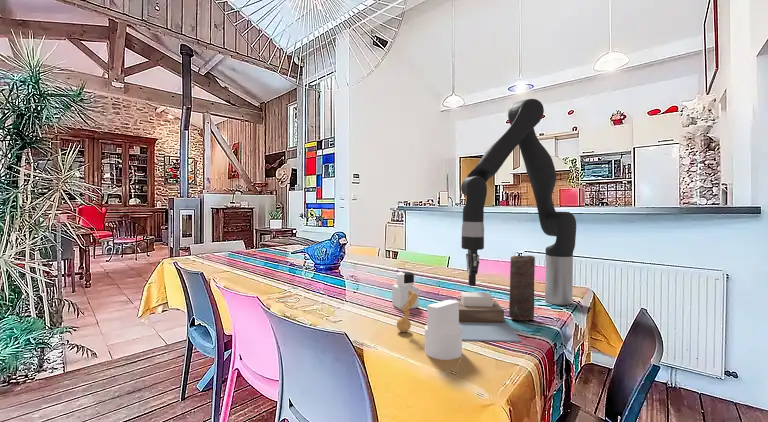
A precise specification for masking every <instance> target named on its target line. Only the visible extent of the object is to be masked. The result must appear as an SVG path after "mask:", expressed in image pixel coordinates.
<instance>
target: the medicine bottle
mask: <svg viewBox="0 0 768 422" xmlns="http://www.w3.org/2000/svg"><path fill="white" fill-rule="evenodd" d="M414 284H415V274H414V272H411V271H399V272H398V273H396V284H392V286H391V287H392V289H391V290H392V295H391V296H392V301H391V302H392V306H394V307H396V308H397V309H398V310H400V311H401V309H402V308H403V306H404V305H405V304H406V302H407V301H408V296H409V294H408V291H409V290H410V291H412V292H413V293H416V294H417V299H416V301H415V304H413V306H412V307H411V308H410V309H409V310H411V309H417V308H419V307H420V306H419V296H420V295H419V289H420V288H419V287H418V286H415V285H414ZM408 303H409V302H408ZM407 305H408V304H407ZM407 305H406V306H407ZM406 306H405V307H406ZM405 307H404V308H405Z"/></svg>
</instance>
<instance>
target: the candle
mask: <svg viewBox="0 0 768 422" xmlns="http://www.w3.org/2000/svg"><path fill="white" fill-rule="evenodd" d="M535 259H536V257H535V256H534V255H518V256H517V255H513V256H510V269H509V270H510V271H509V273H510V274H509V301H508V303H509V305H508V306H509V307H508V315H509V317H510V318H511V319H513V320H514V321H531V320H534V319H535V267H536V263H535V262H536V260H535Z"/></svg>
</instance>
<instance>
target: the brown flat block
mask: <svg viewBox="0 0 768 422" xmlns="http://www.w3.org/2000/svg"><path fill="white" fill-rule="evenodd" d="M454 300H455V301H459V322H477V323H505V310H504V309H503V307H501V305H500V304H499V303H498V302H497V301H496V300H493V307H486V306H463V304H462V302H461V299H454Z"/></svg>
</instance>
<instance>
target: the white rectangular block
mask: <svg viewBox="0 0 768 422" xmlns="http://www.w3.org/2000/svg"><path fill="white" fill-rule="evenodd" d="M493 298H494V297H493V296H492V295H491V293H490V292H475V291H474V292H473V291H472V292H470V291H467V292H465V291H463V292H462V291H461V293H460V300H461V302H462V304H463V306H486V307H493V301H494V300H493Z"/></svg>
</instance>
